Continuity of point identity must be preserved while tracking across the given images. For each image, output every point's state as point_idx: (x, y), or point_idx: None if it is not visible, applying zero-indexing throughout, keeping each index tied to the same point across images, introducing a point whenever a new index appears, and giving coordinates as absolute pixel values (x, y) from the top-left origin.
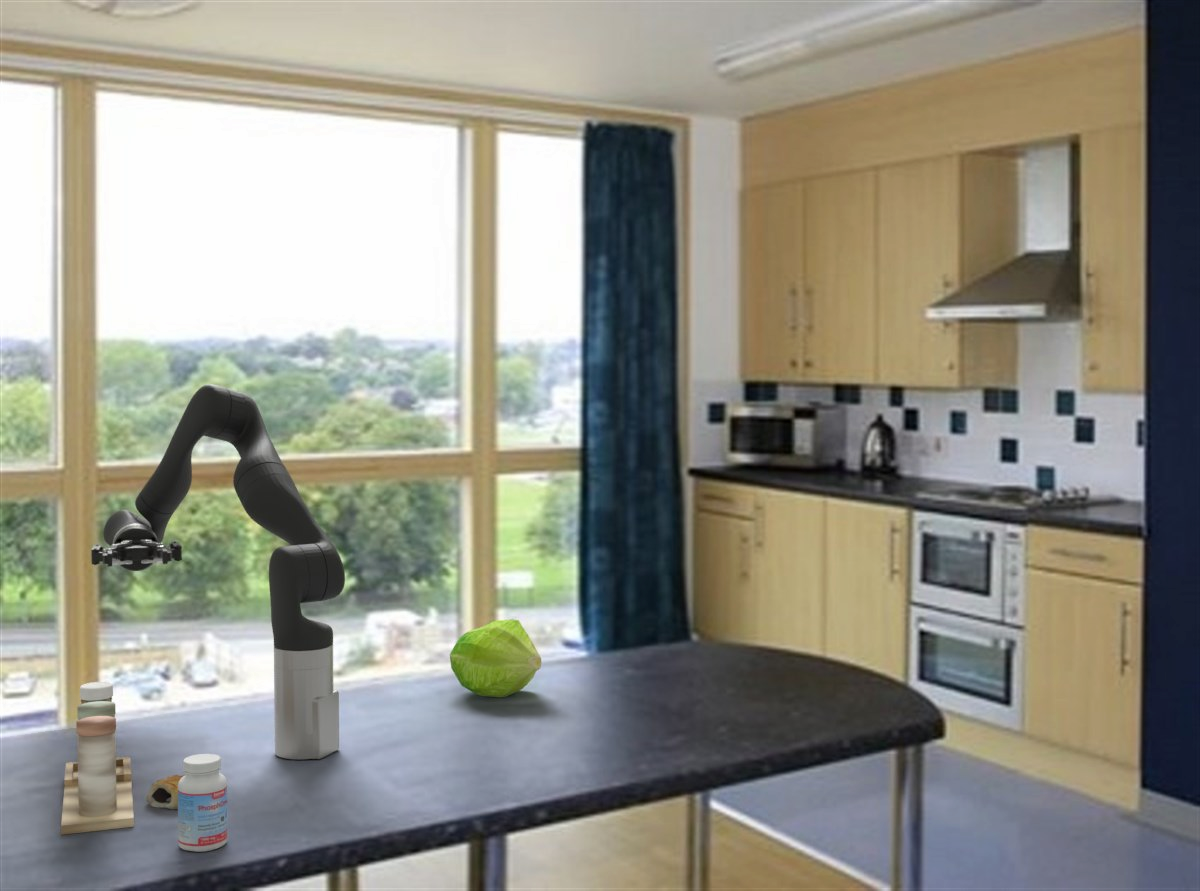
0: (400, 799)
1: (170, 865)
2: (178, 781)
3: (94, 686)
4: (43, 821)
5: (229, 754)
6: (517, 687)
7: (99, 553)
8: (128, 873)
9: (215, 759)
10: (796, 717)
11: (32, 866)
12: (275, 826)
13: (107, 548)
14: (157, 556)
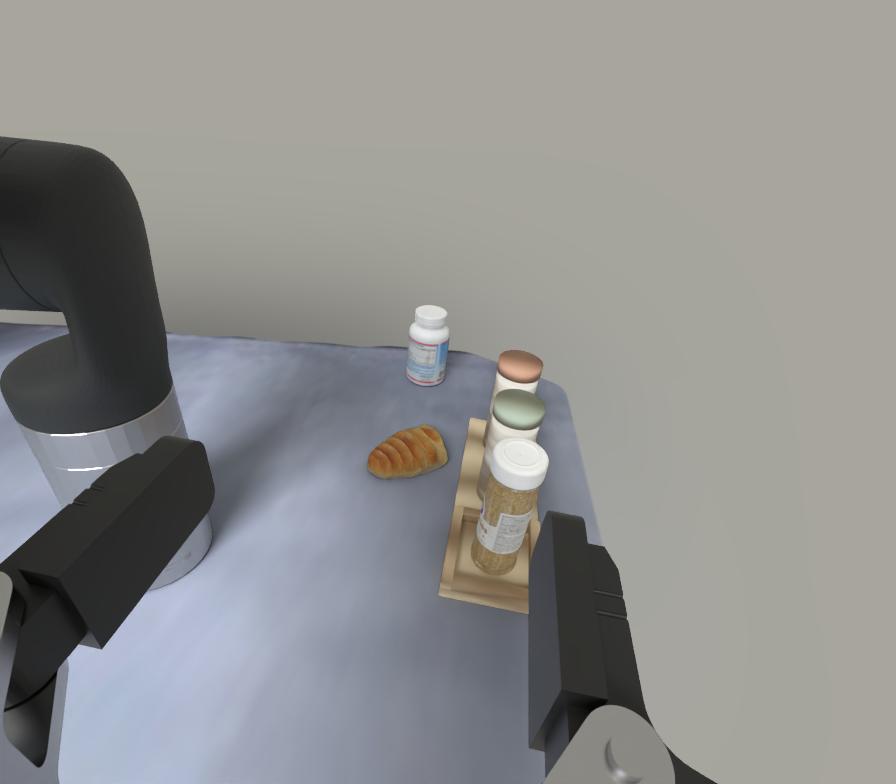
0: (226, 375)
1: (456, 363)
2: (416, 432)
3: (524, 445)
4: (553, 471)
5: (259, 601)
6: None
7: (690, 768)
8: (485, 365)
9: (422, 307)
10: None
11: (551, 398)
12: (358, 378)
13: (621, 746)
14: (33, 767)
